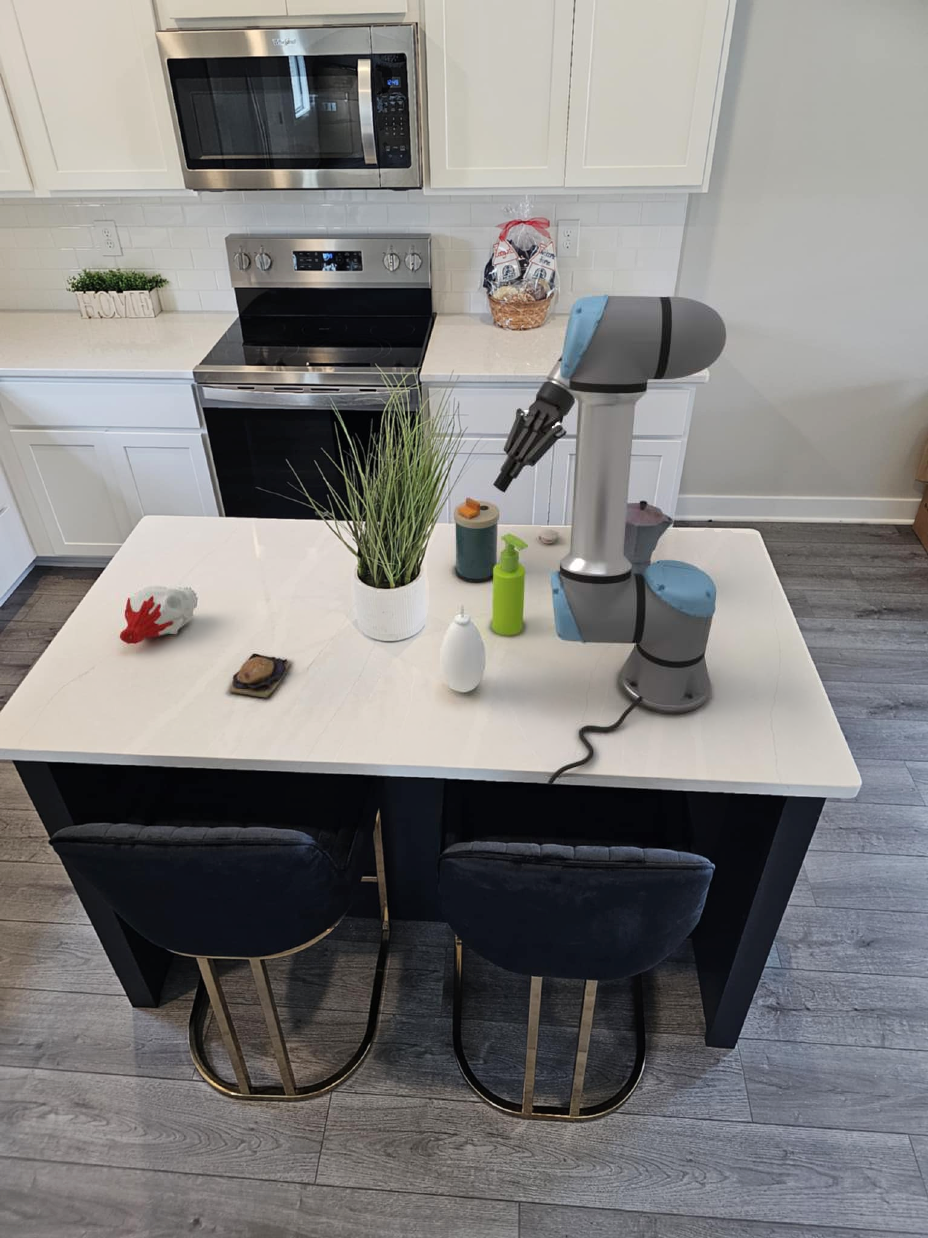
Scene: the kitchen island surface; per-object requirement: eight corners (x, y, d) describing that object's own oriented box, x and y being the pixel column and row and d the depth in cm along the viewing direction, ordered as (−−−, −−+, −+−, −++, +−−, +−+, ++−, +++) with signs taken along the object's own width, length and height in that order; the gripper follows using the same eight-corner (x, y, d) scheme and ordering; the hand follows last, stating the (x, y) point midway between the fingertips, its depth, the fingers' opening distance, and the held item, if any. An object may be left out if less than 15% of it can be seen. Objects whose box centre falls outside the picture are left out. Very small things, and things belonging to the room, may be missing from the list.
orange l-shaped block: (468, 507, 173) (468, 497, 172) (480, 513, 171) (480, 503, 169) (457, 511, 171) (457, 501, 170) (469, 518, 169) (468, 508, 168)
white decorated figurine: (205, 613, 168) (162, 665, 157) (156, 602, 171) (111, 652, 160) (193, 578, 162) (148, 629, 151) (143, 567, 165) (95, 617, 154)
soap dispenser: (509, 642, 160) (512, 550, 149) (486, 625, 165) (487, 535, 153) (532, 630, 163) (537, 540, 152) (508, 614, 168) (511, 525, 156)
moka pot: (662, 603, 170) (676, 515, 159) (585, 595, 173) (594, 508, 161) (663, 578, 178) (676, 492, 166) (589, 571, 181) (597, 486, 169)
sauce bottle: (490, 678, 152) (491, 595, 141) (478, 706, 145) (478, 621, 135) (448, 670, 153) (446, 587, 143) (434, 698, 147) (432, 613, 137)
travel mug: (478, 555, 186) (478, 496, 178) (506, 572, 180) (508, 511, 172) (445, 570, 181) (444, 509, 173) (474, 588, 176) (474, 526, 167)
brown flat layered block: (269, 700, 147) (266, 684, 145) (225, 693, 149) (221, 676, 147) (294, 663, 155) (292, 647, 153) (252, 656, 157) (249, 640, 155)
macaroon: (534, 540, 191) (535, 530, 190) (551, 533, 194) (551, 523, 192) (547, 547, 189) (548, 537, 187) (564, 540, 191) (564, 530, 190)
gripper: (592, 408, 172) (529, 507, 173) (546, 391, 180) (487, 485, 181) (576, 389, 166) (511, 491, 167) (529, 372, 174) (468, 470, 175)
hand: (498, 488), depth 174 cm, fingers closed
